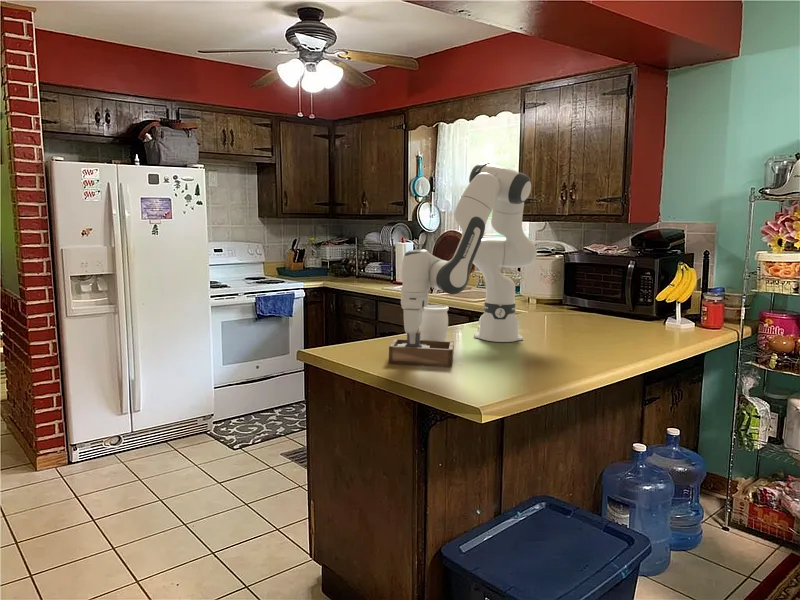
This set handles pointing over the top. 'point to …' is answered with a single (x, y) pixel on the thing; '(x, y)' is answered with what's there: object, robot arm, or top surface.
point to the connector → (417, 343)
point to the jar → (434, 323)
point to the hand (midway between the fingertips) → (413, 341)
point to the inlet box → (422, 353)
